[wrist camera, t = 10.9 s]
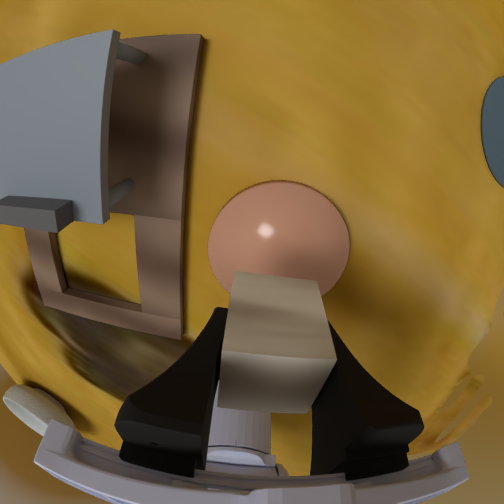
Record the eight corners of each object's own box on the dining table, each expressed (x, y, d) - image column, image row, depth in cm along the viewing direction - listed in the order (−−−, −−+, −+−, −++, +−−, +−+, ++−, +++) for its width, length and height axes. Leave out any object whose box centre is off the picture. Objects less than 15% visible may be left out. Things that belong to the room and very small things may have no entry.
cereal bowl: (4, 362, 34) (-12, 386, 28) (60, 386, 34) (44, 418, 28) (41, 409, 42) (30, 431, 36) (96, 431, 42) (87, 458, 36)
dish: (325, 308, 23) (327, 315, 22) (206, 293, 23) (204, 300, 22) (361, 194, 18) (366, 199, 17) (217, 170, 18) (214, 173, 17)
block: (298, 338, 15) (306, 413, 11) (227, 330, 15) (216, 407, 11) (317, 280, 13) (337, 359, 9) (234, 270, 13) (221, 350, 9)
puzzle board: (183, 332, 25) (181, 339, 24) (49, 299, 24) (44, 305, 23) (204, 37, 14) (200, 34, 13) (27, 64, 13) (19, 64, 12)
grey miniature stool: (137, 195, 17) (87, 237, 12) (34, 188, 17) (-20, 220, 11) (149, 46, 13) (95, 22, 7) (36, 67, 12) (-24, 69, 7)
